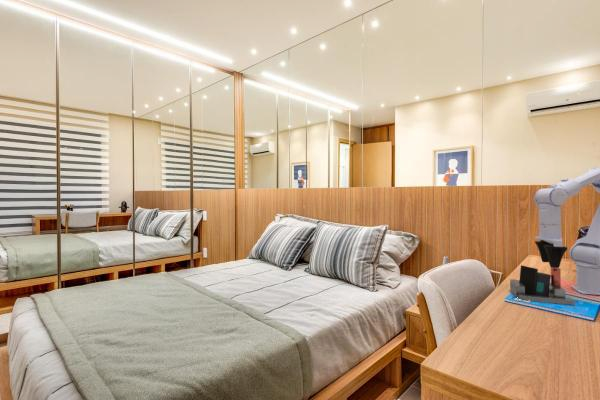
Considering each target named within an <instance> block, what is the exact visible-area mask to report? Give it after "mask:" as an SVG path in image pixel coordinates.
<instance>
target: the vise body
mask: <svg viewBox="0 0 600 400" xmlns="http://www.w3.org/2000/svg"><path fill="white" fill-rule="evenodd" d="M509 280H510V281H509V282H510V283H509V286H510V287H509V289H510V292H511V294H512V295H513V294H514V295H513V296H514V297H515V298H516V297H518V298H519V299H521V300H520V301H524V300H530V301H529V302H534V301H537V303H544V302H548V303H547V304H554V303H557V304H556V305H564V304H571V305H570V306H574V305H576V301H575V300H574V299H573V298H567V297H565V298H556V297H550V296H548V297H545V296H535V295H525V286H524V285H523V284H522V283H520V282H519V280H520V279H513V278H511V279H509ZM518 298H517V299H518ZM519 299H518V300H519Z"/></svg>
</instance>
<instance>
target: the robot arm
mask: <svg viewBox="0 0 600 400" xmlns="http://www.w3.org/2000/svg"><path fill="white" fill-rule="evenodd" d="M590 185H591V186H592V187H593V188H594V190H595V191H596V192H597V193H598V194H600V167H598V166H597V167H594V166H593V167H592V168H590V169H587V171H586V172H584V173H583V174H581V175H579V176H577V177H576V178H562V179H561V180H560V182H557V183H556V184H550V185H549V187H546V188H540V189H538V190H537V191H536V192H535V194H534V196H533V200H534V203H535V204H536V209H537V210H538V228H539V229H538V231H539V232H538V236H534V240H535V241H534V243H535V245H536V248H537V249H538V252H539V256H540V259H541V261H542V263H549V267H550V268H551V267H553V268H560V266H561V262H562V259H563V257H564V255H565V253H566V252H567V250H568V247H567V246H563V245H564V244H563V238H562V206H563V205H564V204H565V203H566V201H567V200H568V199H570V198H572V197H573V196H576V195H578V194H579V193H580V192H581V190H582V188H585V187H588V186H590ZM536 240H537V241H536ZM568 254H569V255H568V256H569V258H570V260H571V261H573V264H574V265H575V266H576V269H575V271H576V272H575V275H576V276H575V280H576V281H575V284H576V285H571V286H570V287H571V288H572V289H574V290H575V291H576V292H578V293H579V294H583V295H585V294H586V295H594V296H596V295H598V296H600V203H599V204H598V206H597V209H596V211H595V213H594V215H593V219H592V220H591V223H590V226H589V228H588V230H587V233H586V235H585V236H583V237H580V238H579V239H577V240H576V241H575V243H574V245H572V246H571V247H570V250H569V253H568Z"/></svg>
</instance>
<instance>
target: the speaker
mask: <svg viewBox="0 0 600 400" xmlns="http://www.w3.org/2000/svg"><path fill="white" fill-rule="evenodd" d="M519 272H520V273H519V279H518V280H519V282H520V283H522V284H523V285H524V286H525V295H535V296H545V297H549V286H550V282H551V274H548V273H544V272H539V269H538V268H535V267H530V266H525V265H523V264H522V265H520V271H519Z"/></svg>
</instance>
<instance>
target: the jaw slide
mask: <svg viewBox="0 0 600 400" xmlns="http://www.w3.org/2000/svg"><path fill="white" fill-rule="evenodd" d="M561 272H562V271H561V268H560V267H559V268H553V267H550V275H551V278H550V286H549V295H548V297H556V298H566V289H565V288H563V287H562V286H561V274H562V273H561Z"/></svg>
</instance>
